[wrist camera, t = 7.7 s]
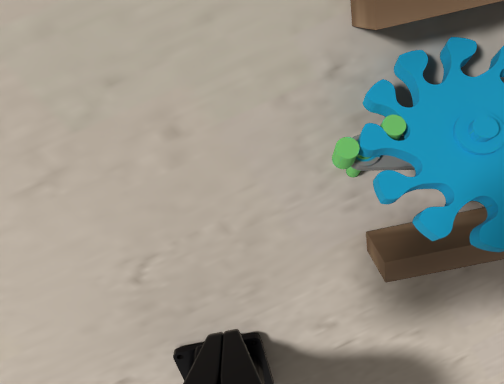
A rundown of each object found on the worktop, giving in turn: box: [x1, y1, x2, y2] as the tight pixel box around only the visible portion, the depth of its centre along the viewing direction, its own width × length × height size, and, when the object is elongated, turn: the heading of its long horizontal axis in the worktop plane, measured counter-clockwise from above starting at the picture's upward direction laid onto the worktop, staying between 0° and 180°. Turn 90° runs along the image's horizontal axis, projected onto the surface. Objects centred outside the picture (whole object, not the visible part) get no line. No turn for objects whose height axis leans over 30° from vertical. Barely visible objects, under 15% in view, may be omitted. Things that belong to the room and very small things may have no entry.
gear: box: [332, 37, 504, 252], centre depth 18 cm, size 11×6×10 cm
